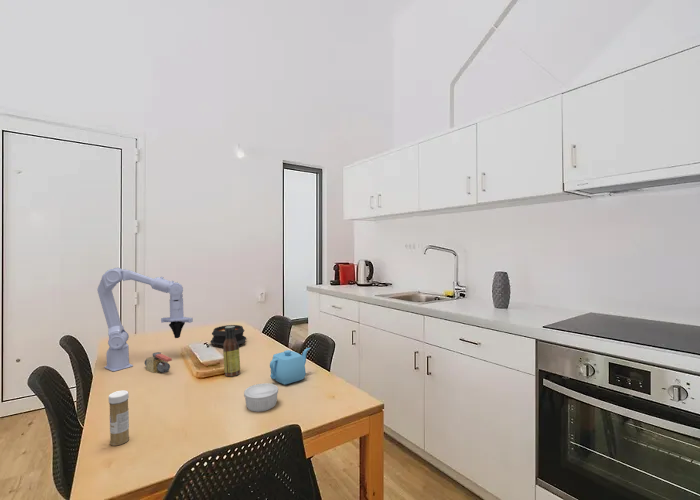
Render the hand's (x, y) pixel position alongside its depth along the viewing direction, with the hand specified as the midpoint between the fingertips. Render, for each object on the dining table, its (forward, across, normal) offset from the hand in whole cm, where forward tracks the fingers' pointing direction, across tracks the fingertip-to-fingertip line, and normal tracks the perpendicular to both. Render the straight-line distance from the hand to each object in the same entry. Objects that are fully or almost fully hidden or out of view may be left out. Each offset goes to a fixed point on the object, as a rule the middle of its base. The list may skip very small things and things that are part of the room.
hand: (177, 337), depth 164 cm
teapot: (+11, +60, -20) cm, 64 cm away
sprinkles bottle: (+11, +25, -66) cm, 72 cm away
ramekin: (+11, +56, -43) cm, 72 cm away
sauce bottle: (+11, +34, -17) cm, 40 cm away
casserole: (+11, +12, +28) cm, 32 cm away
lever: (+4, +3, -16) cm, 17 cm away
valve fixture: (+10, -2, -13) cm, 17 cm away
